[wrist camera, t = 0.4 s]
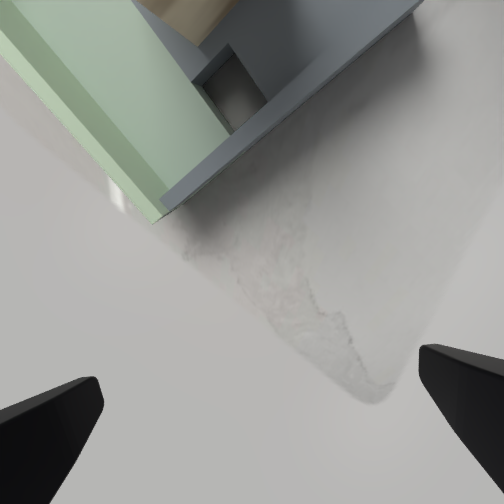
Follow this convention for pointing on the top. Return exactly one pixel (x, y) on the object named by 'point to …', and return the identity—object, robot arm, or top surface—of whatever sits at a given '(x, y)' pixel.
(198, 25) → the beech block
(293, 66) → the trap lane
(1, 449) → the robot arm
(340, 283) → the top surface
